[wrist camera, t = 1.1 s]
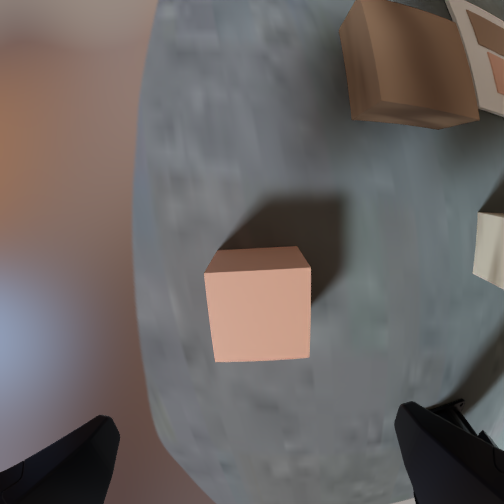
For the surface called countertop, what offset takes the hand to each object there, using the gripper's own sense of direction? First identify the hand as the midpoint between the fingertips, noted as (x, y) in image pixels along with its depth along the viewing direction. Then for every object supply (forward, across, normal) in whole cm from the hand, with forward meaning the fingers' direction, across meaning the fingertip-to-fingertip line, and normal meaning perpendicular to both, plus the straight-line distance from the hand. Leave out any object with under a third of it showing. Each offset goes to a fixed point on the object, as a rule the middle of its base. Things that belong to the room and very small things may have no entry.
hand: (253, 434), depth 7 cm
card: (+12, -24, -19) cm, 33 cm away
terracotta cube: (+12, 0, 0) cm, 12 cm away
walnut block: (+12, -10, -14) cm, 22 cm away
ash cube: (+12, -20, -2) cm, 24 cm away
